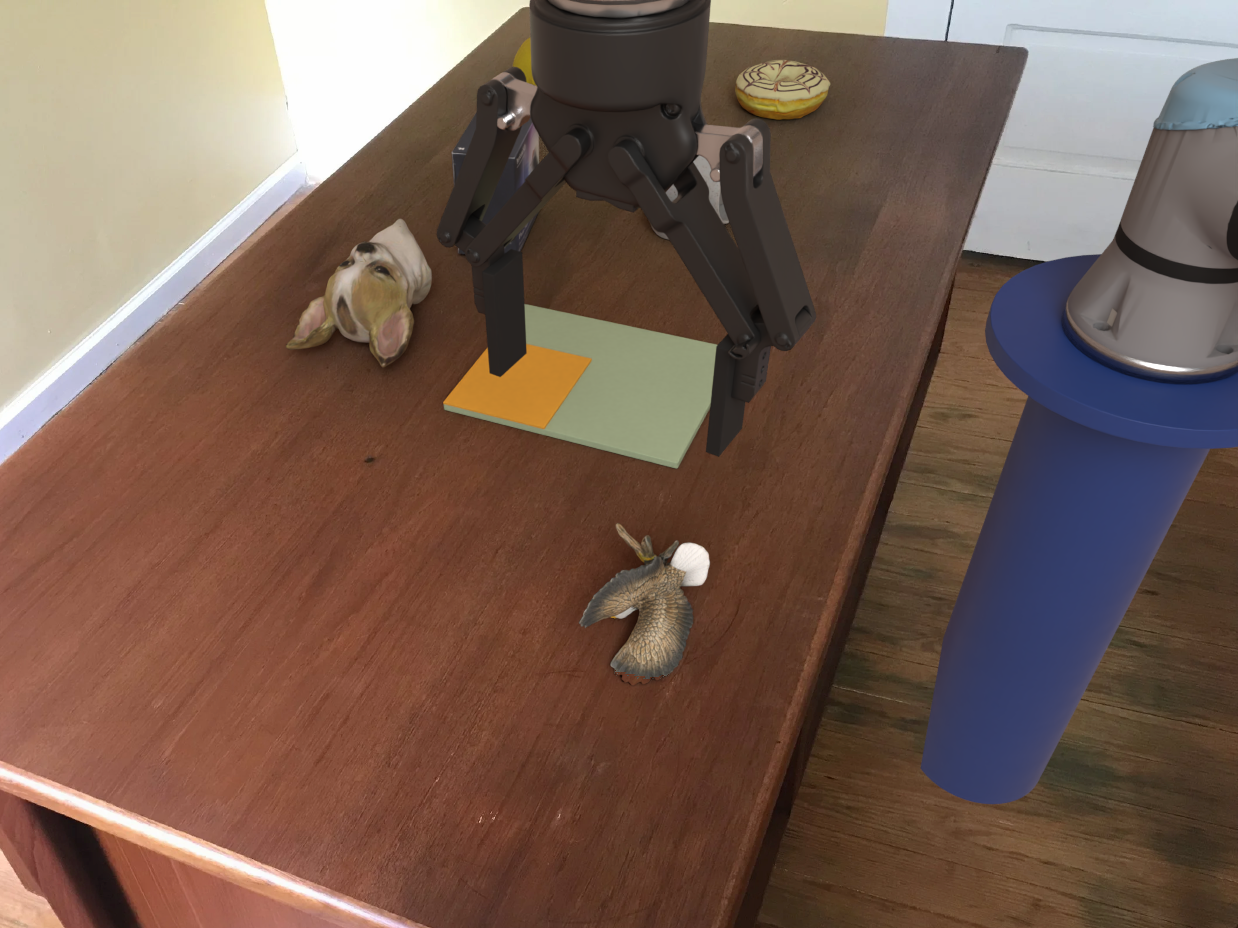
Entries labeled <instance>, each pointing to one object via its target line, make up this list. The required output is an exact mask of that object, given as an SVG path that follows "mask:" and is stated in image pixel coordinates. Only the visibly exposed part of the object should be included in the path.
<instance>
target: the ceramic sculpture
mask: <svg viewBox="0 0 1238 928" xmlns="http://www.w3.org/2000/svg"><path fill="white" fill-rule="evenodd" d="M432 275H433V274H432V269H431V267H430V266H429V264H428V262H427V259H426V257H425V254H424V252H423V250H422V249H421V247H420V246H419V244H418V241H417V240H416V238H415V236H414V234H413V233H412V232H411V230H410V228H409V227H408V224H407V223H406V221H405V220H404V219H402V218H398V219H397V220H395V222H394V223H392V224H391V225H389V226H387V227H386V228H384V229H382V230H380V231H379V232H377V233H376V234H375V235H373V237H371V239H370V240H368V241H367V240H366V241H365V240H364V241H361V242H359V243H358V244H356V245H355V246H354V247H353V248H352V250H351V251H350V254H349V256H348V257H347V258H346V259H345V260H344V261H343V262H341V263H340V264H339V265H337V267H336V269H335V271H334V273H333V274H332V275H331V276H330V277H329V278H328V281H327V284H326V288H325V293H324V295H322V296H318V297H316V298H314V299H313V300H311V301H310V302H309V304H308V306H307V308H306V309H304V310H303V311H302V313H301V315H300V317H299V319H298V320H299V321H298V324H297V325H296V328H295V330H294V334H293V336H292V338H291V339H289V340H288V342H287V343H286V345H285V348H286V349H287V350H288V351H289V350H290V351H294V350H303V349H311V348H317V347H319V346H322V345H324V344H326V343H327V342H328V341H329V340H331V338H332V337H333V335H334V334H335V333H336V331H337V330H338V331H339V332H340V334H341V335H342V336H343V337H344V338H347V339H349V340H351V341H353V342H356V343H365V344H368V345H369V351H370V353H371V354H372V355H373V357H374V358H375V359H376V360H377V361H378V363H379V365H380V367H381V368H386V367H388V366H389V365H391V364H392V363H394V362H396V361H397V360H399V359H400V358H401V357H402V355H403V354H404V353H405V352H406V350H407V349H408V347H409V343H410V340H411V338H412V334H413V330H414V324H415V318H414V315H413V312H412V311H411V308H412V305H419V304H420V303H422V302H423V301H424V300H425V298H426V297H428V294H429V293H430V290H431V287H432V283H433V276H432Z"/></svg>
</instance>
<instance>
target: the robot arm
mask: <svg viewBox="0 0 1238 928" xmlns="http://www.w3.org/2000/svg"><path fill="white" fill-rule="evenodd" d="M711 4H712V0H529V4H528V5H529V37H530V41H531V70H532V77H533V80H534V82H535V84H536V86H535V85H532V84H529V83H527V81H526V76H525V74H524V72H523V71H522V70H521V69H519V68H518V67H513V66H511V67H508V68H507V69H505V70H504V71H503V72H501V73H499V74H497V75H496V76H494V77H493V78H491V79H489V80H488V81H487V82H485V83H483V84H482V85H480V86H479V87H478V88H477V92H476V112H475V113H476V130H475V132H474V135H473V138H472V140H471V143H470V145H469V148H468V151H467V153H466V156H465V158H464V161H463V164H462V166H461V169H460V171H459V174H458V177H457V179H456V182H455V184H454V183H453V186H452V190H451V192H450V195H449V198H448V200H447V203H446V206H445V208H444V211H443V213H442V216H441V218H440V221H439V223H438V225H437V228H436V233H435V234H436V237H437V240H438V242H439V243H440V244H441V245H442V246H444V247H445V248H449V249H450V248H452V247H454V246H455V247H456V248H457V249H458V248H459V249H461V250H462V251H463V252H464V253H465V254H464V255H465V259H466V260H467V262H468V263H469V264H470V265H471V275H472V276H471V277H472V287H473V300H474V301H473V302H474V306H475V308H476V310H477V313H479V314H482V315H484V316H485V317H484V318H485V331H486V344H487V347H488V359H489V373H490V374H493V375H496V376H498V377H501V376H502V375H503V374H505V373H506V372H507V371H508V370H509V369H510V368H511V367H512V366H513V365H514V364H516V363H517V362H518V361H519V360H520V359H521V358H522V357H523V356H524V355H525V354H527V348H526V325H525V304H526V303H525V284H524V262H523V261H524V259H523V258H524V257H523V251H521V252H519V251H516V250H512V249H510V250H509V251H508V252H506V253H505V254H504V247H506V246H507V245H508V244H509V243H511V242H512V241H513V240H514V239H515V238H514V237H515V236H516V235H517V234H518V233H519V232H520V231H521V230H522V229H523V228H524V227H525V226H526V225H527V224H528V223H529V221H530V220H531V219H532V218H533V217H534V216H535V215H536V214H537V213H538V212H539V213H540V211H541V210H542V209H543V208H544V207H545V206H546V205H547V204H548V202H549V201H550V200H551V199H552V198H553V197H554V196H555V195H557V193H558V192H559V191H560V190H561V188H563V187H564V186H565V184H567V186H568V187H570V188H571V189H572V190H573V191H575V197H576V198H577V199H582V200H585V201H589V202H596V201H597V202H601V201H604V202H606V203H608V204H610V205H611V206H614V208H617V209H619V210H623V211H626V212H630V213H632V214H633V213H635V212H636V211H637V210H638V209H640V210H641V211H642V212H643V214H644V216H645V217H646V219H647V220H648V222H649V224H650V223H651V224H650V226H651V225H652V227H653V228H654V229H655V230H656V231H657V232H661V233H664V234H665V235H666V236H667V237H668V239H669V242H670V245H672V247H673V248H674V250H675V252H676V253H677V255H678V256H679V258H680V260H681V261H682V263H683V265H684V266H685V268H686V270H687V272H688V273H689V274H690V276H691V277H692V279H693V280H694V282H695V284H696V285H697V287H698V289H699V290H700V292H701V293H702V295H703V297H704V298H705V299H706V301H707V303H708V305H709V306H710V307H711V309H712V311H713V312H714V314H715V316H716V317H717V319H718V321H719V322H720V324H721V325H722V327H723V328H724V330H725V332H726V333H727V334H726V335H725V336H724V337H723V338H722V339H721V341H720V342H719V343H718V344H716V345H717V346H716V355H715V365H714V375H713V385H712V395H711V405H710V409H709V415H708V424H707V425H708V427H707V436H706V444H705V453H707V454H709V455H712V456H715V457H717V458H720V456H721V455H722V454H723V453H724V451H725V450H726V449H727V448H728V447H729V445H730V444H731V443H732V441H733V440H734V439H735V438H736V437H737V435H739V433H740V432H741V431H742V430H743V426H744V416H745V410H746V403H748V404H749V403H750V402H751V401H752V400H753V399H754V398H755V397H756V395H757V394H758V393H759V391H760V390H761V389H762V387H763V386H764V385H765V383H766V382H767V375H768V369H769V363H770V356H771V348H772V347H774V348H775V349H777V350H779V351H780V352H788V351H791V350H792V349H794V348H795V346H796V345H797V343H798V342H799V341H800V340H801V339H802V338H803V336H804V335H805V334H806V333H807V331H808V330H809V329H810V328H811V326H812V325H813V324H814V323H815V322H816V319H817V312H816V308H815V306H814V303H813V300H812V296H811V294H810V290H809V288H808V284H807V281H806V278H805V275H804V272H803V269H802V266H801V263H800V259H799V256H798V254H797V250H796V246H795V244H794V241H793V238H792V234H791V232H790V228H789V226H788V222H787V219H786V216H785V213H784V210H783V207H782V204H781V201H780V198H779V195H778V191H777V189H776V186H775V183H774V179H773V176H772V173H771V145H772V143H771V140H772V139H771V135H772V134H771V133H772V132H771V128H770V127H769V125H768V123H767V122H766V121H765V120H763V119H761V118H752V119H750V120H749V121H747V122H746V123H745V124H744V125H743V126H741V127H735V126H725V125H717V124H716V125H715V124H708V122H707V120H706V117H705V115H704V112H703V107H702V93H703V87H704V83H705V77H706V69H707V57H708V47H709V46H708V43H709V32H710V18H711V7H712V6H711ZM530 117H531V120H532V123H533V125H534V127H535V129H536V131H537V132H538V134H539V139H540V140H541V141H542V143H543V145H544V146H545V148H546V150H547V154H546V155H545V156H544V157H543V158H542V159H541V161H539V164H538V165H537V166H536V168H535V169H534V170H533V171H532V172H531V173H530V174H529V175H528V177H527V178H526V179H525V182H524V183H523V184H522V186H521V187H520V188H519V189H518V190H517V191H516V192H515V194H514V195H513V196H512V197H511V198H510V199H509V200H508V201H507V203H506V204H505V205H504V206H503V207H502V208H501V209H500V210H499V212H498V213H497V214H496V215H495V216H494V217H493V218H492V220H491V221H490V222H489V223H488V224H487V225H486V224H485V223H483V222H482V219H483V217H484V215H485V212H486V210H487V208H488V205H489V203H490V201H491V198H492V196H493V194H494V191H495V189H496V187H497V184H498V182H499V180H500V177H501V175H502V173H503V170H504V168H505V166H506V163H507V161H508V159H509V156H510V154H511V152H512V149H513V147H514V145H515V142H516V140H517V138H518V135H519V133H520V130H521V127H522V125H524V124H525V123H526V122H528V121H529V119H530ZM1152 127H1153V128H1152V130H1151V134H1150V136H1149V139H1148V141H1147V144H1146V148H1145V151H1144V153H1143V156H1142V159H1141V162H1140V164H1139V167H1138V169H1137V172H1136V175H1135V178H1134V181H1133V183H1132V187H1131V190H1130V193H1129V196H1128V198H1127V201H1126V204H1125V206H1124V209H1123V212H1122V215H1121V218H1120V221H1119V223H1118V226H1117V228H1116V232H1115V234H1114V235H1113V239H1112V240H1111V242H1110V243H1109V244H1108V245H1107V247H1106V248H1105V249H1104V250H1103V252H1102V253H1100V254H1101V255H1100V257H1099V258H1098V259H1097V260H1096V262H1095V263H1094V264H1093V265H1092V266H1091V268H1090V269H1089V270H1088V271H1087V273H1086V274H1085V275H1084V276H1083V277H1082V279H1081V280H1080V281H1079V282H1078V284H1077V285H1076V286H1075V287H1074V289H1073V290H1072V291H1071V293H1070V295H1069V297H1068V300H1067V302H1066V305H1065V308H1064V311H1063V314H1062V320H1061V321H1062V327H1063V330H1064V332H1065V335H1066V336H1067V338H1068V339H1069V340H1070V342H1071V343H1072V344H1073V345H1074V346H1075V347H1076V348H1077V349H1078V350H1080V351H1081V352H1082V353H1083V354H1085V355H1086V356H1087V357H1089V358H1091V359H1092V360H1094V361H1095V362H1097V363H1099V364H1101V365H1103V366H1105V367H1107V368H1109V369H1112V370H1114V371H1117V372H1119V373H1122V374H1125V375H1128V376H1132V377H1135V378H1139V379H1143V380H1148V381H1153V382H1159V383H1167V384H1203V383H1210V382H1215V381H1219V380H1223V379H1226V378H1229V377H1231V376H1233V375H1235V374H1236V373H1238V57H1235V58H1233V57H1232V58H1226V59H1220V60H1215V61H1210V62H1208V63H1203V64H1200V65H1198V66H1195V67H1193V68H1191V69H1189V70H1187V71H1186V72H1185V73H1183V74H1181V75H1180V76H1179V77H1178V78H1177V80H1176V81H1175V82H1174V83H1173V85H1172V86H1171V88H1170V90H1169V92H1168V95H1167V98H1166V100H1165V102H1164V104H1163V105H1162V108H1161V110H1160V113H1159V115H1158V117H1157V118H1155V120H1154V121H1153V125H1152ZM698 156H702V157H704V158H705V159H706V160H707V161H708V163H709V165H710V168H711V172H710V178H711V179H712V180H713V181H714V182H720V189H721V196H722V201H723V205H724V208H725V212H726V214H727V217H728V220H729V223H728V224H729V226H730V228H731V231H732V234H733V238H734V239H733V238H732V236H731V234H730V233H729V231H728V229H727V227H726V226H725V224H723V222H722V221H721V219H720V218H719V216H718V214H717V213H716V211H715V209H714V208H713V206H712V204H711V203H710V201H709V188H708V185H707V183H706V182H705V180H704V178H703V177H702V175H701V174H700V172H699V170H698V169H697V167H696V165H695V164H694V161H695V159H696V158H697V157H698ZM673 184H674V186H675V188H676V189H677V192H678V196H677V198H676V199H675V200H673V201H671V200H670V199H669V197H668V196H667V194H666V192H667V191H668V189H669V188H670V187H671V186H672V185H673ZM539 213H538V214H539ZM652 227H651V228H652Z"/></svg>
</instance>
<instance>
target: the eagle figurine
mask: <svg viewBox="0 0 1238 928" xmlns="http://www.w3.org/2000/svg"><path fill="white" fill-rule="evenodd" d="M615 529H616V531H617V534H618V536H619V537H620V538H621V540H623V541H624V543H625V544H626V545H627V546H628V547H629V548H631V549H632V550H633V551H634V552H635V554H636V556H637V558H638V559H639V560H640V561H641V562H642V563H643V564H641V565H639V566H638V567H636V568H630V569H629V570H628V569H621V570H620V571H619V572H616V573H615V575H614V577H611V578H610V580H609V581H607V582H606V583H605V584H604V585H603V586H602V587H601V588H600V589H599V590H598V591H597V592H595V594H594V595H593V596H592V598H591V599H590V601H589V602H588V603H587V606H586V608H585V609H584V611H583V613H582V616H581V618H580V619H579V621H578V624H579V625H580V627H584V629H586V628H589V627H590V626H592V625H593V624H595V623H597V622H600V621H602V620H605V619H609V618H610V619H611V618H614V619H613V620H615V619H619V620H622V619H624V618H627V617H628V616H630V615H631V614H632V613H633V612H635V611H638V616H637V622H636V624H635V625H634V627H633V629H632V630H631V634H630V635H629V637H628V639H627V641H626V642H625V643H624V644H623V646H622V647H621V648H620V649H619V650H618V652H617V653H616V654H615V655H614V656H613V658H612V660H611V661H610V663H609V664H610V667H611V668H613V669H614V673H615V672H626V673H625V674H635V675H634V676H645V678H643V679H650V677H659V676H661V675H664V676H666V677H668V676H669V675H671V673H673V672H674V670H675V669H676V668H677V667H678V666H679V664H680V661H682V660H683V655H684V653H683V652H684V651H685V649H686V647H687V640H688V639H689V635H690V632H691V631H690V629H692V628H693V625H694V614H693V612H694V609H693V607H692V604H691V602H690V601H688V598H687V596H685V595H684V590H683V589H681V587H699V586H702V585H704V583H705V582H706V580H707V578H708V573H709V568H710V565H711V561H710V554H709V552H708V551H707V550H706V548H705V547H703V546H702V545H700V544H697V543H694V542H684V543H683V542H682V543H681V544H680V541H679V540H678V539H675V541H674V542H673V543H672V544H671V545H670V546H669V547H668V548H666V549H665V550H664V551H663V552H661V553H659V555H657V554H656V553H654V547H653V541H652V538H651V536H650V535H649V534H646V535H644V537H643V538H642V540H641V543H640V542H639V541H638V540H637V539H635V538H634V537H633V536H631V535H630V534H629V533H628V531H627V530H626V528H625V527H624V526H623V525H622V524H621V523H619V522H616V523H615ZM679 544H680V545H679ZM672 555H673V556H672ZM671 557H672V558H671ZM669 558H671V561H669ZM615 670H616V671H615ZM617 674H618V673H617ZM668 674H669V675H668ZM667 675H668V676H667ZM627 676H629V675H627ZM664 676H663V677H664ZM638 678H639V677H637V679H638Z"/></svg>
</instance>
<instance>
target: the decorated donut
mask: <svg viewBox="0 0 1238 928" xmlns="http://www.w3.org/2000/svg"><path fill="white" fill-rule="evenodd" d="M830 86H831V82H830V80H829V79H828V78H827V77H826V75H825V74H824V72H822V71H820V70H819V69H818V68H817V67H815V66H812V65H811V64H806V63H802V62H799V61H796V60H795V61H794V60H787V59H774V60H768V61H764V62H760V63H758V64H755V65H751V66H748V67H747V68H745V69H744V70H742V71H741V73H739V74H738V76H737V78H736V80H735V87H734V92H735V95H736V99H737V102H738V103H739V105H740V106H741V107H742V109H744V110H746V111H747V112H748V113H749V114H752V115H754V116H757V117H760V118H763V119H771V120H777V121H780V120H781V121H782V120H794V119H802V118H803V117H805V116H807V115H810V114H811V113H813V112H815V111H816V110H818V109H819V108H820V106H821V105H822V104H823V103H824V101H825V100H826V98H827V96H828V95H829V88H830Z"/></svg>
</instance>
